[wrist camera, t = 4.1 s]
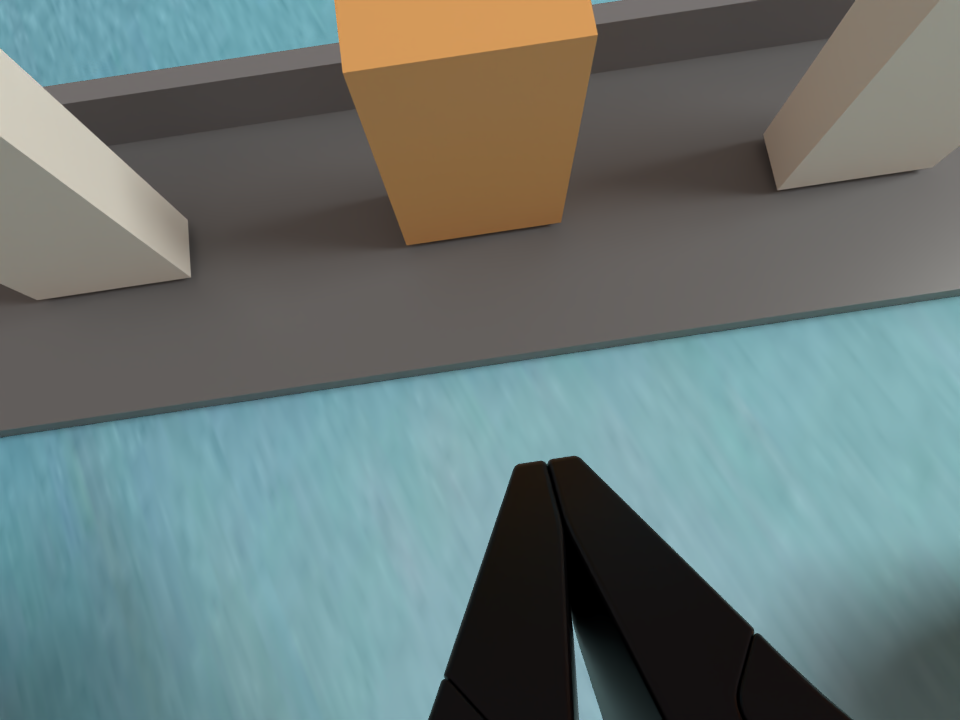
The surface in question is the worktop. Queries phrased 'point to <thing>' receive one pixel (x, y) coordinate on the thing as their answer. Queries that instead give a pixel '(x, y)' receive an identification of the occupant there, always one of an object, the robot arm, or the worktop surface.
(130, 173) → the key
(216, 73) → the long grey base rail
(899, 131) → the key
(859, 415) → the worktop surface
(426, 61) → the key middle
